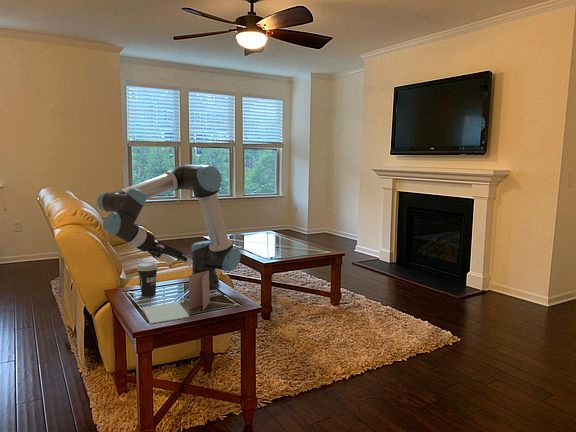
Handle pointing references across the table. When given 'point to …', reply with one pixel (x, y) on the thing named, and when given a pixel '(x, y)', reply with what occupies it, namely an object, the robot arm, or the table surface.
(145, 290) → the coffee cup
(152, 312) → the mat
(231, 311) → the table surface
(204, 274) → the greeting card
